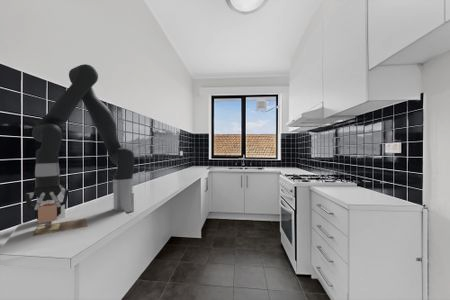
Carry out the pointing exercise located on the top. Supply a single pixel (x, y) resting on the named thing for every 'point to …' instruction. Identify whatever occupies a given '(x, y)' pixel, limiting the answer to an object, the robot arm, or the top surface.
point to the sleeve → (47, 212)
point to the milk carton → (54, 202)
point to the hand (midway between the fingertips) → (48, 217)
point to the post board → (60, 226)
